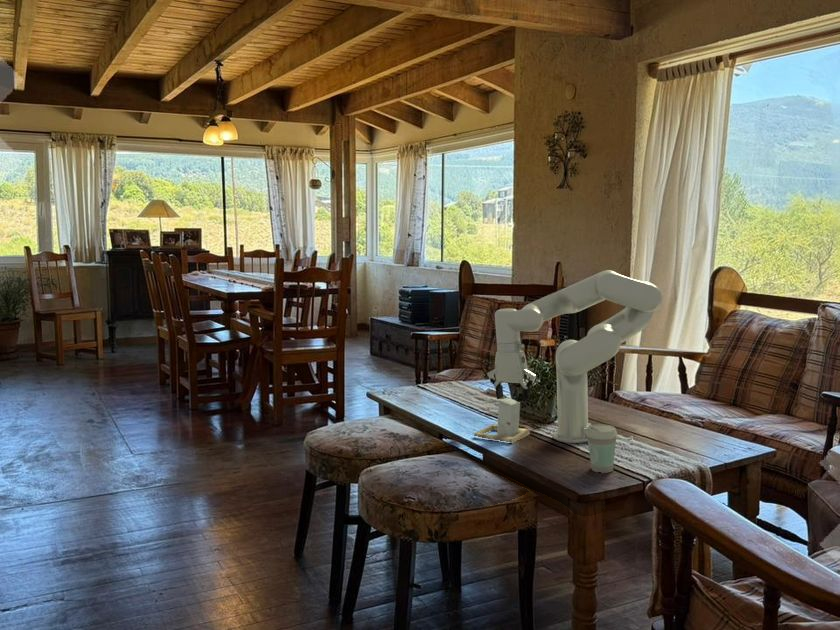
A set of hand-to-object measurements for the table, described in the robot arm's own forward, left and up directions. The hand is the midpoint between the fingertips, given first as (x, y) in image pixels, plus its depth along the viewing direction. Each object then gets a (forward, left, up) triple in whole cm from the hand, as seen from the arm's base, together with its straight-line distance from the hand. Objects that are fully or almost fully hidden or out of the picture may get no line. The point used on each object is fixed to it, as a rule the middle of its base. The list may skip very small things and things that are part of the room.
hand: (513, 399), depth 233 cm
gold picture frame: (+4, 0, -13) cm, 14 cm away
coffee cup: (-36, +14, -13) cm, 41 cm away
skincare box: (+2, 0, -13) cm, 13 cm away
